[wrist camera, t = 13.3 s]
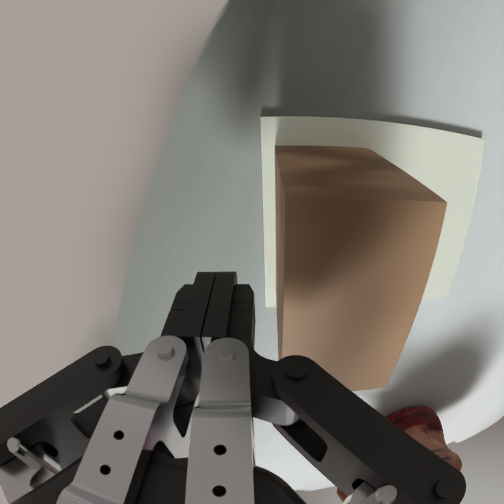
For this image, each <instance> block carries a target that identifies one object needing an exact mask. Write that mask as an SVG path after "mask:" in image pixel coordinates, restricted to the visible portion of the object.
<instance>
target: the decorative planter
mask: <svg viewBox="0 0 504 504" xmlns="http://www.w3.org/2000/svg"><path fill="white" fill-rule="evenodd" d="M387 419H388V420H390V421H391V422H392V423H394V424H395V425H396V426H398V427H399V428H400V429H402V430H403V431H404V432H406V433H407V434H408V435H410V436H411V437H412V438H414V439H415V440H417V441H418V442H419V443H421V444H422V445H424V446H425V447H426V448H428V449H429V450H431V451H432V452H433V453H435V454H436V455H438V456H439V457H440V458H442V459H443V460H445V461H446V462H448V463H449V464H451V465H452V466H453V467H455V468H456V469H458V470H459V471H460V470H461V467H462V462H461V459H460V457H459V456H458V455H457V454H456V453H454V452H452V451H451V450H450V449H448V447H447V446H446V443H445V440H444V434H443V429H442V426H441V422H440V420H439V418H438V416H437V415H436V413H435V412H434V411H433V410H431V409H430V408H427V407H409V408H405V409H402V410H400V411H397V412H395V413H394V414H392V415H390V416H388V417H387ZM337 494H338V496H339V497H340V499H341V500H342V502H343V503H344V501H345V499H346V498H347V497H348V496H347V495H346V494H345V493H343V492H342V491H341V490H340V489H339V488H338V487H337Z"/></svg>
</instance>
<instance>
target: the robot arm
mask: <svg viewBox="0 0 504 504" xmlns="http://www.w3.org/2000/svg"><path fill="white" fill-rule="evenodd" d="M254 339H255V304H254V292H253V290H252V289H251V287H250V285H249V284H237V274H236V272H198V273H197V275H196V278H195V281H194V284H193V285H191V284H185V285H184V286H183V287H182V288H181V289H180V290H179V291H178V292H177V293H176V296H175V299H174V301H173V304H172V306H171V311H170V312H169V314H168V317H167V320H166V323H165V325H164V328H163V331H162V333H161V336H160V337H158V338H156V339H154V340H152V341H151V342H150V343H149V344H148V345H147V347H146V348H145V351H144V352H142V353H138V354H132V355H126V356H122V355H121V353H120V351H119V350H118V349H117V348H115V347H112V346H102V347H99V348H96V349H94V350H93V351H91V352H89V353H88V354H86V355H85V356H83V357H81V358H80V359H78V360H77V361H75V362H73V363H72V364H70V365H69V366H67V367H65V368H64V369H62V370H61V371H59V372H57V373H56V374H54V375H53V376H51V377H49V378H48V379H46V380H45V381H43V382H41V383H40V384H38V385H37V386H35V387H33V388H32V389H30V390H28V391H27V392H25V393H24V394H22V395H21V396H19V397H17V398H16V399H14V400H12V401H11V402H9V403H8V404H6V405H4V406H3V407H1V408H0V484H1V487H2V489H3V492H4V494H5V496H6V498H7V501H8V503H9V504H306V503H305V502H304V501H303V499H301V497H299V495H298V494H297V493H296V492H295V491H294V490H293V489H292V488H291V487H290V486H289V485H288V484H287V483H286V482H285V481H284V480H283V479H281V478H280V477H279V476H277V475H276V474H274V473H272V472H270V471H268V470H266V469H264V468H261V467H258V466H256V459H255V443H254V422H253V417H255V418H258V419H261V420H264V421H268V422H271V423H272V424H273V426H274V427H275V428H276V429H277V430H278V431H279V432H280V434H281V435H282V436H283V437H284V438H285V439H286V440H287V441H288V442H289V443H290V444H291V445H292V446H293V447H294V448H296V449H297V450H298V451H299V452H300V453H301V454H302V455H303V456H304V457H305V458H306V459H307V460H308V461H309V462H310V463H311V464H312V465H313V466H314V467H315V468H317V469H318V470H319V471H320V472H321V473H322V474H323V475H324V476H325V477H326V478H328V479H329V480H330V481H331V482H332V483H333V484H334V485H335V486H337V487H338V488H339V489H340V490H341V491H342V492H343V493H345V494H346V495H347V496H348V497H347V498H346V499H345V501H344V503H343V504H460V502H461V501H462V499H463V497H464V494H465V491H466V482H465V478H464V476H463V474H462V473H461V472H460V471H459V470H458V469H456V468H455V467H453V466H452V465H451V464H449V463H448V462H446V461H445V460H443V459H442V458H440V457H439V456H438V455H436V454H435V453H433V452H432V451H431V450H429V449H428V448H426V447H425V446H424V445H422V444H421V443H419V442H418V441H417V440H415V439H414V438H412V437H411V436H410V435H408V434H407V433H406V432H404V431H403V430H402V429H400V428H399V427H398V426H396V425H395V424H394V423H392V422H391V421H390V420H388V419H387V418H386V417H384V416H383V415H382V414H380V413H379V412H378V411H376V410H375V409H374V408H372V407H371V406H370V405H368V404H367V403H366V402H365V401H363V400H362V399H361V398H359V397H358V396H357V395H356V394H354V393H353V392H352V391H351V390H349V389H348V388H347V387H345V386H344V385H343V384H342V383H340V382H339V381H338V380H337V379H335V378H334V377H333V376H332V375H330V374H329V373H328V372H327V371H325V370H324V369H323V368H322V367H320V366H319V365H318V364H317V363H316V362H314V361H313V360H312V359H310V358H308V357H305V356H301V355H290V356H286V357H284V358H282V359H280V360H279V361H273V360H269V359H266V358H264V357H262V356H260V355H259V354H257V353H256V352H255V350H254ZM99 395H102V396H103V397H102V398H101V399H99V400H98V401H96V402H95V403H93V404H92V405H90V406H89V407H87V408H86V409H84V410H82V411H81V412H79V413H73V412H75V411H76V410H78V409H79V408H81V407H82V406H84V405H85V404H87V403H89V402H90V401H92V400H93V399H94V398H96V397H98V396H99ZM189 440H190V443H189ZM65 467H66V468H65ZM63 468H64V469H63ZM62 469H63V470H62Z"/></svg>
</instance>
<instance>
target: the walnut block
mask: <svg viewBox="0 0 504 504" xmlns="http://www.w3.org/2000/svg"><path fill="white" fill-rule="evenodd" d="M274 147H275V208H276V306H277V329H278V355H279V360H280V359H282V358H284V357H286V356H290V355H301V356H305V357H308V358H310V359H312V360H313V361H314V362H316V363H317V364H318V365H319V366H320V367H322V368H323V369H324V370H325V371H327V372H328V373H329V374H330V375H332V376H333V377H334V378H335V379H337V380H338V381H339V382H340V383H342V384H343V385H344V386H345V387H347V388H348V389H349V390H351V391H358V390H367V389H374V388H381V387H386V385H387V383H388V381H389V378H390V376H391V374H392V372H393V370H394V368H395V365H396V363H397V361H398V359H399V356H400V354H401V352H402V349H403V347H404V345H405V342H406V340H407V337H408V335H409V332H410V330H411V327H412V325H413V322H414V319H415V317H416V314H417V311H418V308H419V305H420V303H421V300H422V297H423V294H424V291H425V288H426V284H427V281H428V278H429V275H430V271H431V268H432V265H433V261H434V257H435V254H436V250H437V246H438V242H439V238H440V234H441V230H442V226H443V221H444V217H445V212H446V207H447V202H446V201H445V200H444V199H442V198H441V197H440V196H438V195H437V194H436V193H434V192H433V191H432V190H430V189H429V188H428V187H426V186H425V185H423V184H422V183H421V182H419V181H418V180H416V179H415V178H413V177H412V176H411V175H409V174H408V173H406V172H405V171H403V170H402V169H400V168H399V167H397V166H396V165H394V164H393V163H391V162H390V161H388V160H386V159H385V158H383V157H382V156H380V155H378V154H377V153H375V152H374V151H372V150H370V149H369V148H359V147H339V146H274Z"/></svg>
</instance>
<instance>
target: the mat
mask: <svg viewBox="0 0 504 504" xmlns="http://www.w3.org/2000/svg"><path fill="white" fill-rule="evenodd" d="M260 123H261V151H262V182H263V217H264V257H265V306H266V307H277V306H276V208H275V147H274V146H339V147H359V148H369V149H370V150H372V151H374V152H375V153H377V154H378V155H380V156H382V157H383V158H385V159H386V160H388V161H390V162H391V163H393V164H394V165H396V166H397V167H399V168H400V169H402V170H403V171H405V172H406V173H408V174H409V175H411V176H412V177H413V178H415V179H416V180H418V181H419V182H421V183H422V184H423V185H425V186H426V187H428V188H429V189H430V190H432V191H433V192H434V193H436V194H437V195H438V196H440V197H441V198H442V199H444V200H445V201H446V202H447V207H446V212H445V217H444V221H443V226H442V230H441V234H440V238H439V242H438V246H437V250H436V254H435V257H434V261H433V265H432V268H431V271H430V275H429V278H428V281H427V284H426V288H425V291H424V294H423V297H422V299H429V298H440V297H447V295H448V293H449V290H450V287H451V284H452V281H453V279H454V276H455V273H456V270H457V267H458V264H459V260H460V257H461V254H462V250H463V247H464V244H465V240H466V236H467V233H468V229H469V225H470V221H471V217H472V212H473V208H474V203H475V199H476V194H477V188H478V183H479V177H480V171H481V165H482V158H483V150H484V141H485V139H482V138H479V137H475V136H470V135H466V134H461V133H456V132H451V131H446V130H441V129H435V128H429V127H423V126H416V125H409V124H402V123H394V122H386V121H376V120H365V119H353V118H337V117H314V116H260Z"/></svg>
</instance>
